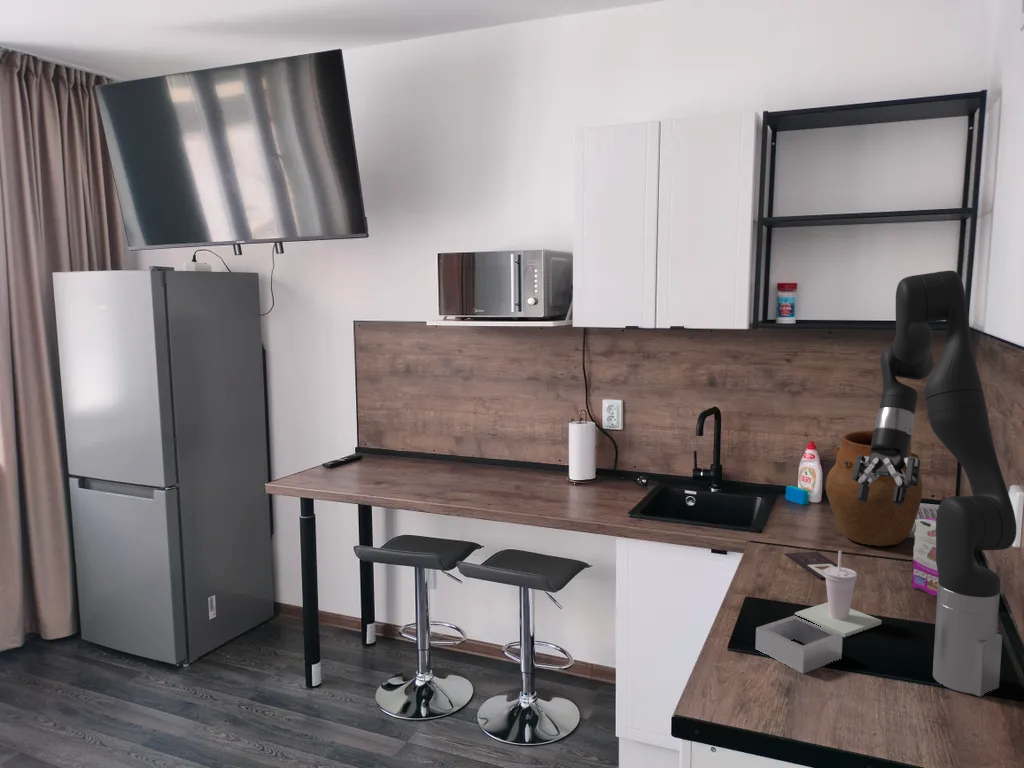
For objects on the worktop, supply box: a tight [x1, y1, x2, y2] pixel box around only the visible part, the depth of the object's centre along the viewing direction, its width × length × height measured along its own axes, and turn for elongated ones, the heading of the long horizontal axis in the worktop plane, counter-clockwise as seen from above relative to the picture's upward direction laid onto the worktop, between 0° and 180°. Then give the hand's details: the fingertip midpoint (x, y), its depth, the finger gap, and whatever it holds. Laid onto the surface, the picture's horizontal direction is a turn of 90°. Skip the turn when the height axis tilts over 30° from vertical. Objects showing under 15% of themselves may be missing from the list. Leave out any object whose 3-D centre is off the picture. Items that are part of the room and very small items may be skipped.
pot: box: [825, 430, 923, 547], centre depth 211 cm, size 24×24×30 cm
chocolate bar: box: [784, 551, 838, 581], centre depth 193 cm, size 9×1×18 cm
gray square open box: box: [755, 615, 843, 674], centre depth 145 cm, size 11×11×4 cm
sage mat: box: [794, 601, 882, 638], centre depth 161 cm, size 12×12×1 cm
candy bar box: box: [911, 517, 938, 598], centre depth 173 cm, size 11×5×16 cm, turn 21°
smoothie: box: [824, 550, 858, 620], centre depth 160 cm, size 6×6×14 cm
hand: (879, 502), depth 165 cm, fingers open, 8 cm apart
